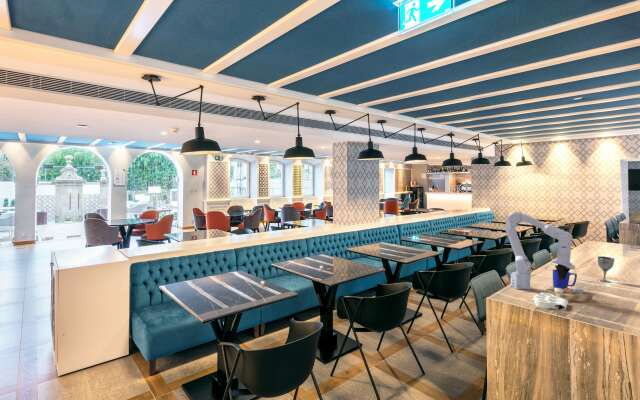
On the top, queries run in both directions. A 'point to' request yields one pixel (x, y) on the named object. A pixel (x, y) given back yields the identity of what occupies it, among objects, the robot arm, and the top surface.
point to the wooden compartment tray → (571, 296)
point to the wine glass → (605, 266)
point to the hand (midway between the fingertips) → (561, 279)
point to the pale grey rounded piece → (558, 290)
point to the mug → (562, 283)
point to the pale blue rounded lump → (578, 291)
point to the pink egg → (568, 290)
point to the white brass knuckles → (549, 301)
